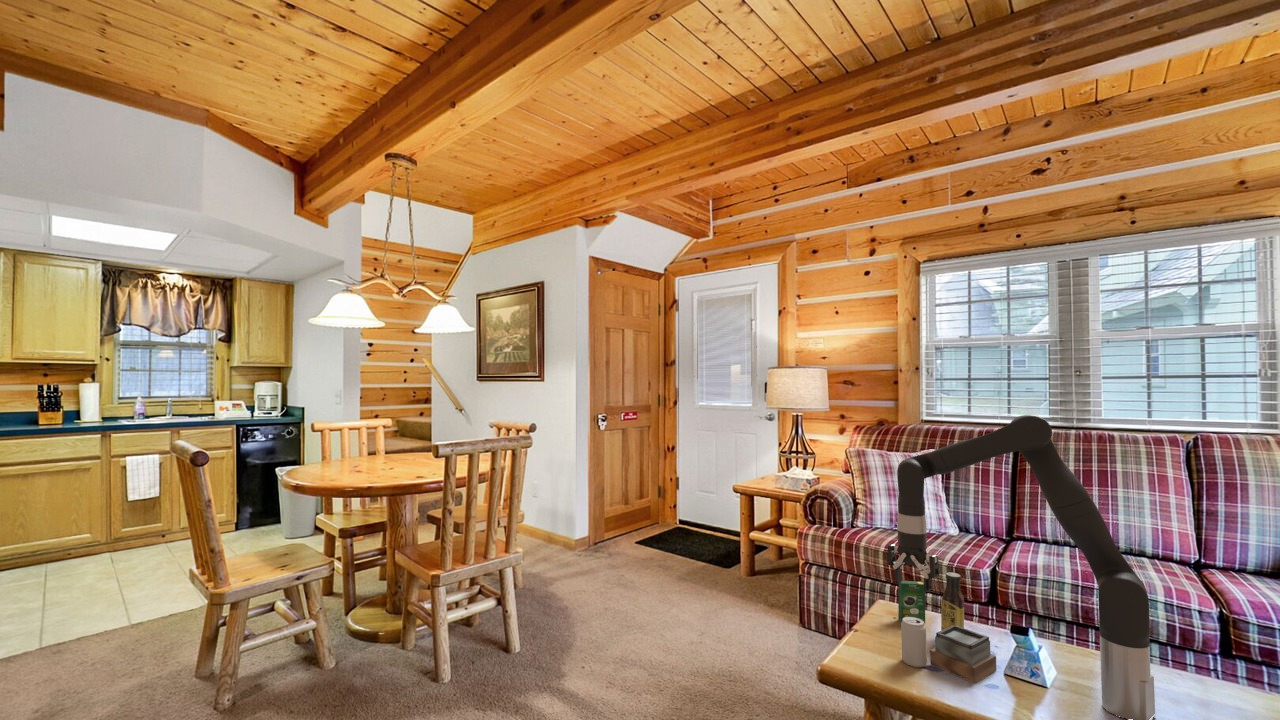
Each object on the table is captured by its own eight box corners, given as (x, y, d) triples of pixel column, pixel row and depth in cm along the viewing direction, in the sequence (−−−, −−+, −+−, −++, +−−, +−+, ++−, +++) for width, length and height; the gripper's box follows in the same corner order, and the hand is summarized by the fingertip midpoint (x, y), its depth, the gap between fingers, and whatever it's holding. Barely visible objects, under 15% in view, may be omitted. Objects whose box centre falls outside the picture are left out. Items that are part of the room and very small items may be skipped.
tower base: (996, 670, 156) (995, 637, 156) (974, 683, 150) (973, 649, 150) (952, 653, 166) (951, 622, 166) (930, 664, 160) (929, 632, 160)
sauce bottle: (936, 635, 178) (935, 571, 179) (952, 632, 180) (950, 569, 181) (953, 644, 172) (952, 578, 173) (969, 641, 174) (968, 576, 174)
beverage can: (929, 669, 157) (928, 626, 157) (905, 667, 158) (904, 624, 158) (923, 658, 163) (922, 616, 163) (899, 656, 164) (898, 615, 165)
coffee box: (922, 620, 189) (922, 580, 190) (926, 623, 186) (925, 583, 187) (898, 619, 190) (897, 579, 190) (901, 622, 187) (900, 583, 187)
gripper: (943, 533, 158) (944, 591, 157) (896, 522, 170) (897, 576, 169) (928, 537, 154) (930, 597, 153) (881, 525, 166) (882, 581, 165)
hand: (912, 586), depth 161 cm, fingers open, 8 cm apart
